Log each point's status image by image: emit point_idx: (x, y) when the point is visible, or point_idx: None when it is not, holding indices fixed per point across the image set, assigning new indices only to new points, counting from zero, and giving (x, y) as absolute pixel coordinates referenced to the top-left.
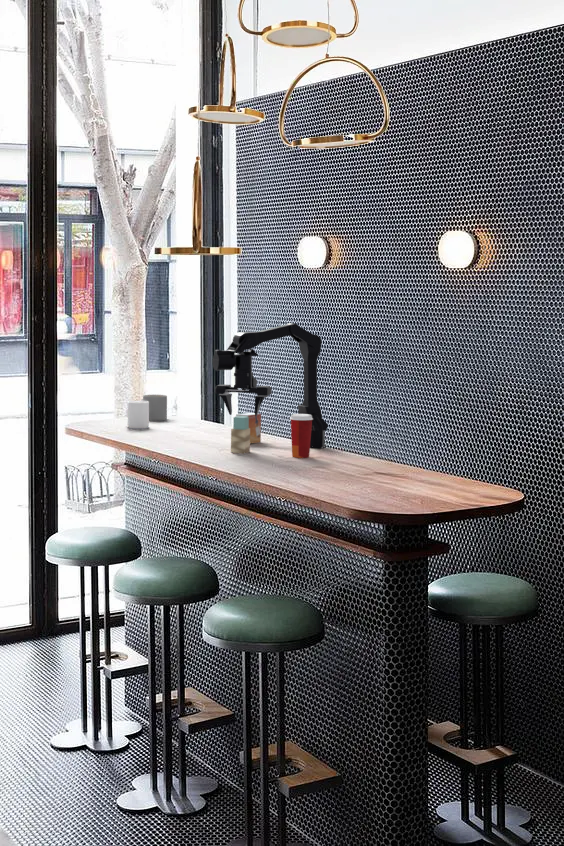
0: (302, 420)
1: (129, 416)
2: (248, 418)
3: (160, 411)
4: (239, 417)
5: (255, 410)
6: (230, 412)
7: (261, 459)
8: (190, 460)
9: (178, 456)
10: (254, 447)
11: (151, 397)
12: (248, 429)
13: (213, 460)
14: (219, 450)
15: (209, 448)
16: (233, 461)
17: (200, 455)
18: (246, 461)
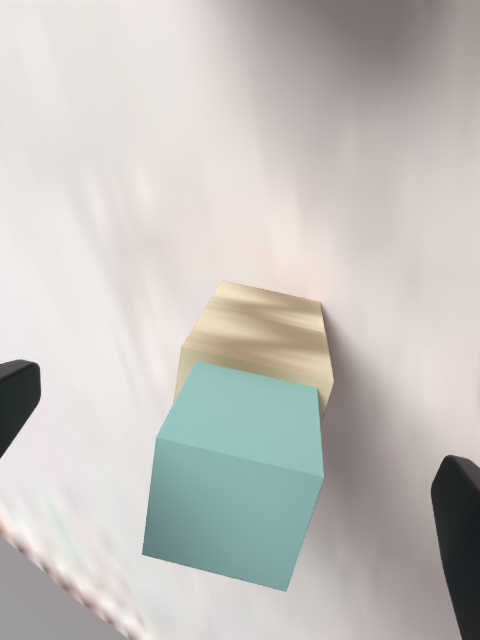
0: None
1: None
2: (320, 467)
3: None
4: (215, 564)
5: (466, 608)
6: (18, 430)
7: (407, 550)
8: (91, 587)
9: (3, 508)
10: (339, 79)
11: None
12: (320, 420)
13: (182, 583)
14: (120, 297)
15: (34, 225)
16: (274, 600)
17: (83, 474)
18: (334, 598)
